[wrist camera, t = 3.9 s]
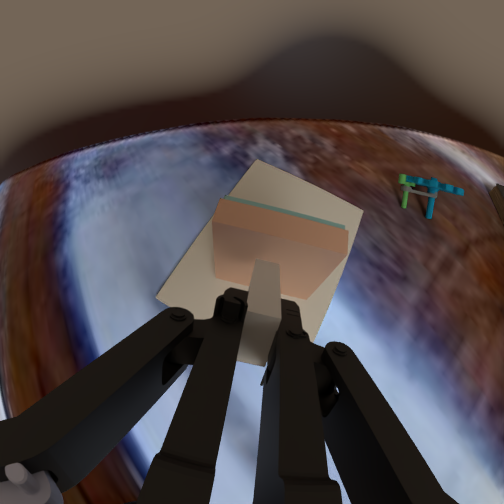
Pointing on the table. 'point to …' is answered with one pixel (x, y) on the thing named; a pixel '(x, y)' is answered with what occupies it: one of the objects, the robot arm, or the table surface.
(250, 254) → the tile
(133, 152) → the table surface
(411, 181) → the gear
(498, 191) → the dark hardcover book
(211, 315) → the felt mat
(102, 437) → the robot arm
